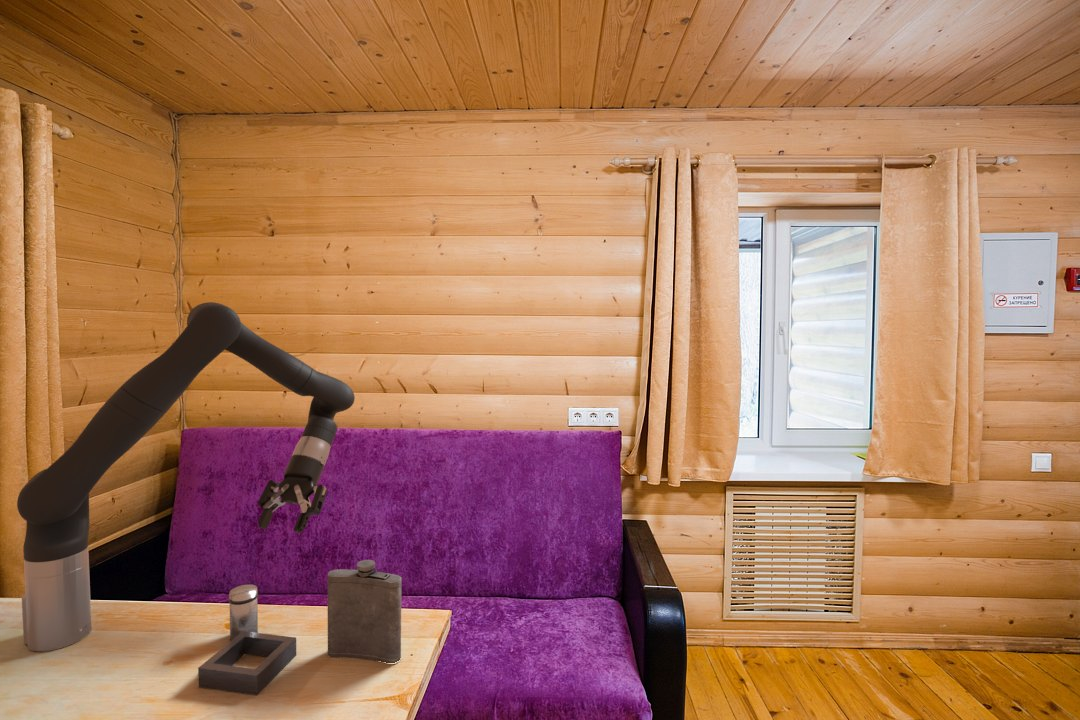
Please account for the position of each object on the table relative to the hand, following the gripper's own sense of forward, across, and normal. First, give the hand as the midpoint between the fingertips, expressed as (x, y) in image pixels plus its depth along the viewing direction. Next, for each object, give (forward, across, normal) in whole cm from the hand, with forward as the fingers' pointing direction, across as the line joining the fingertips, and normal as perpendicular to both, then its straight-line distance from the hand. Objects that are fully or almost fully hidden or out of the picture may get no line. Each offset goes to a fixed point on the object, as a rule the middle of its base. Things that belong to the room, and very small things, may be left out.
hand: (279, 530), depth 115 cm
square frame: (+26, +8, -4) cm, 27 cm away
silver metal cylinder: (+20, 0, +3) cm, 21 cm away
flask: (+20, +26, +4) cm, 33 cm away
